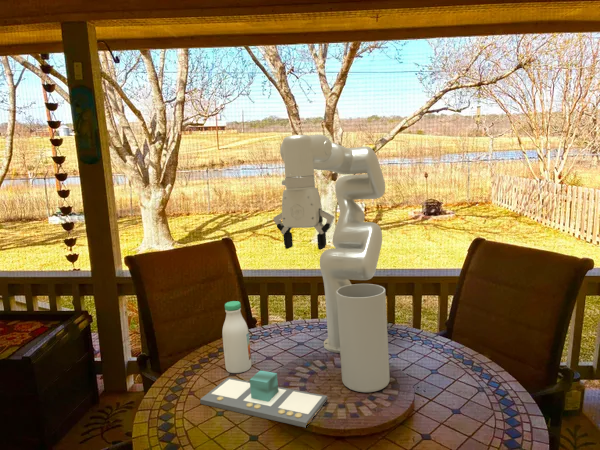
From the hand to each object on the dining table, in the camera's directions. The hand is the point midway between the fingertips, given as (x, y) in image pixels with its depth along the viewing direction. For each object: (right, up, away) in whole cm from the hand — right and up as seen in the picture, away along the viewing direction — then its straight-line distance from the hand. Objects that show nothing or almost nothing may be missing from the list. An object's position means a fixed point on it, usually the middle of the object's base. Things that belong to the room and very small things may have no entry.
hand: (305, 248), depth 115 cm
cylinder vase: (+16, -36, 0) cm, 39 cm away
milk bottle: (-20, -37, +14) cm, 44 cm away
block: (-10, -37, -5) cm, 39 cm away
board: (-11, -38, -6) cm, 40 cm away
